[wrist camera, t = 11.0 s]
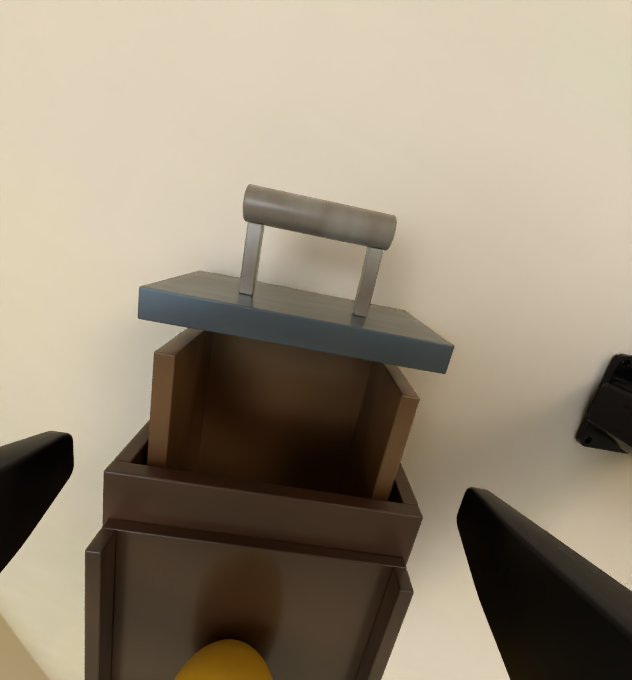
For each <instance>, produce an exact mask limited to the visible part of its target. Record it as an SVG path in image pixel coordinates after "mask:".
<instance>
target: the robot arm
mask: <svg viewBox="0 0 632 680" xmlns="http://www.w3.org/2000/svg"><path fill="white" fill-rule="evenodd" d="M623 361H624V362H623ZM622 362H623V364H622ZM576 440H577V441H578V442H579V443H580V444H581V445H583V446H585V447H591V448H597V449H603V450H608V451H614V452H620V453H626V454H630V455H632V355H627V354H619V355H617V356H615V357H614V359H613V360H612V362H611V365H610V367H609V369H608V371H607V373H606V375H605V377H604V379H603V381H602V384H601V386H600V388H599V390H598V392H597V394H596V396H595V398H594V400H593V402H592V405H591V407H590V409H589V411H588V413H587V415H586V417H585V419H584V421H583V423H582V426H581V428H580V430H579V432H578V434H577V436H576ZM73 467H74V455H73V438H72V436H71V435H70V434H69V433H64V432H56V431H48V432H44V433H41V434H38V435H35V436H32V437H29V438H26V439H23V440H19V441H16V442H13V443H10V444H7V445H4V446H1V447H0V573H1V571H2V570H3V569H4V568H5V567H6V565H7V564H8V563H9V562H10V560H11V559H12V558H13V557H14V555H15V554H16V553H17V552H18V550H19V549H20V548H21V547H22V545H23V544H24V542H25V541H26V540H27V538H28V537H29V536H30V534H31V533H32V531H33V530H34V528H35V527H36V526H37V524H38V523H39V521H40V520H41V518H42V517H43V515H44V514H45V512H46V511H47V510H48V508H49V507H50V505H51V504H52V502H53V501H54V499H55V498H56V497H57V495H58V494H59V492H60V491H61V489H62V488H63V486H64V485H65V483H66V482H67V481H68V479H69V478H70V476H71V474H72V471H73ZM457 526H458V530H459V533H460V537H461V540H462V544H463V547H464V550H465V554H466V557H467V561H468V564H469V567H470V571H471V574H472V578H473V581H474V584H475V588H476V591H477V594H478V597H479V600H480V602H481V605H482V608H483V611H484V613H485V616H486V618H487V621H488V623H489V626H490V629H491V631H492V634H493V636H494V639H495V641H496V644H497V646H498V649H499V652H500V654H501V657H502V659H503V662H504V664H505V667H506V670H507V672H508V675H509V677H510V680H632V591H630V590H629V589H628V588H626V587H625V586H623V585H622V584H620V583H619V582H618V581H616V580H615V579H613V578H612V577H611V576H609V575H608V574H606V573H605V572H603V571H602V570H601V569H599V568H598V567H596V566H595V565H593V564H592V563H591V562H589V561H588V560H586V559H585V558H584V557H582V556H581V555H579V554H578V553H576V552H575V551H574V550H572V549H571V548H569V547H568V546H566V545H565V544H564V543H562V542H561V541H559V540H558V539H556V538H555V537H554V536H552V535H551V534H549V533H548V532H547V531H545V530H544V529H542V528H541V527H539V526H538V525H537V524H535V523H534V522H532V521H531V520H529V519H528V518H527V517H525V516H524V515H522V514H521V513H520V512H518V511H517V510H515V509H514V508H512V507H511V506H510V505H508V504H507V503H505V502H504V501H502V500H501V499H500V498H498V497H497V496H495V495H494V494H493V493H491V492H490V491H488V490H486V489H481V488H473V487H470V488H468V489H467V490H466V492H465V494H464V497H463V500H462V502H461V505H460V508H459V511H458V513H457Z"/></svg>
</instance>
